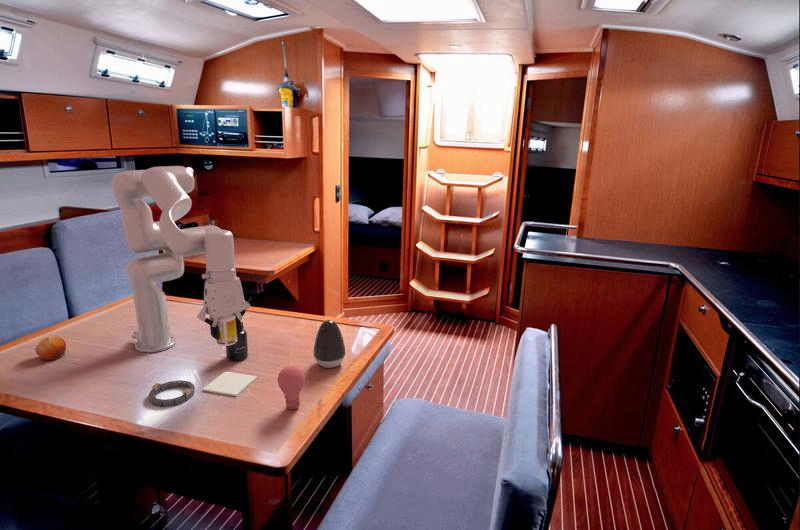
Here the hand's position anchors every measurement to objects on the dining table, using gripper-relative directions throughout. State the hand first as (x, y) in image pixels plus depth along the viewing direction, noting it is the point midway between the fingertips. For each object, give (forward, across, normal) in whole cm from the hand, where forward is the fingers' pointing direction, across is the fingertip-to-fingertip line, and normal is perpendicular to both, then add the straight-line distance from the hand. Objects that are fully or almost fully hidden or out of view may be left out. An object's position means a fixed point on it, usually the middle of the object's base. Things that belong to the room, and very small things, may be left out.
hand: (226, 334), depth 134 cm
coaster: (+16, 0, 0) cm, 16 cm away
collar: (+16, -15, +5) cm, 22 cm away
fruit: (+16, -33, +56) cm, 67 cm away
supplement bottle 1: (+3, 0, 0) cm, 3 cm away
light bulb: (+16, +6, -23) cm, 29 cm away
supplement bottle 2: (+16, +10, +15) cm, 24 cm away
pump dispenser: (+16, +29, -10) cm, 34 cm away
